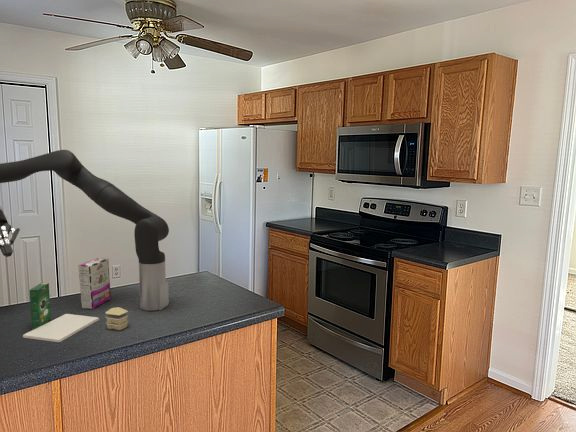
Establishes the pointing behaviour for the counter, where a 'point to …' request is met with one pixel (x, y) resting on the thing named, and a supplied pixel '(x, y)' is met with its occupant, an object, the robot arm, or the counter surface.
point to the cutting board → (61, 328)
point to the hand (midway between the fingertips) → (9, 255)
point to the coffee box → (40, 305)
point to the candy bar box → (94, 283)
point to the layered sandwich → (116, 318)
